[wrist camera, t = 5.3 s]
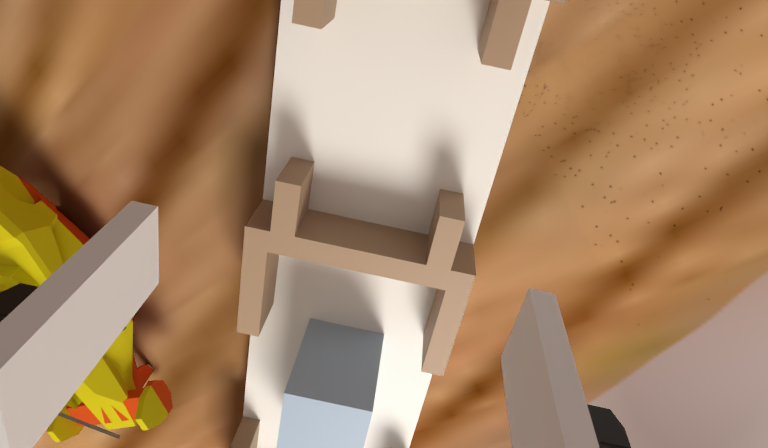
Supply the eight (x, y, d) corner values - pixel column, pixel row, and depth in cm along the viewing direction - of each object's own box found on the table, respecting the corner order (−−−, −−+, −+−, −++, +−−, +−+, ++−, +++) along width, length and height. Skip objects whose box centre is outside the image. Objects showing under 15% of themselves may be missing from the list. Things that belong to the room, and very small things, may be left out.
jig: (295, -94, 24) (269, -97, 20) (557, -37, 24) (576, -30, 20) (241, 467, 41) (222, 517, 38) (390, 499, 41) (385, 552, 38)
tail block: (309, 318, 33) (284, 393, 27) (384, 333, 33) (372, 412, 28) (293, 421, 37) (268, 503, 32) (359, 435, 37) (345, 520, 32)
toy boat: (119, 388, 39) (24, 523, 30) (-36, 153, 31) (-226, 243, 22) (200, 375, 37) (125, 513, 29) (59, 126, 30) (-103, 210, 21)
